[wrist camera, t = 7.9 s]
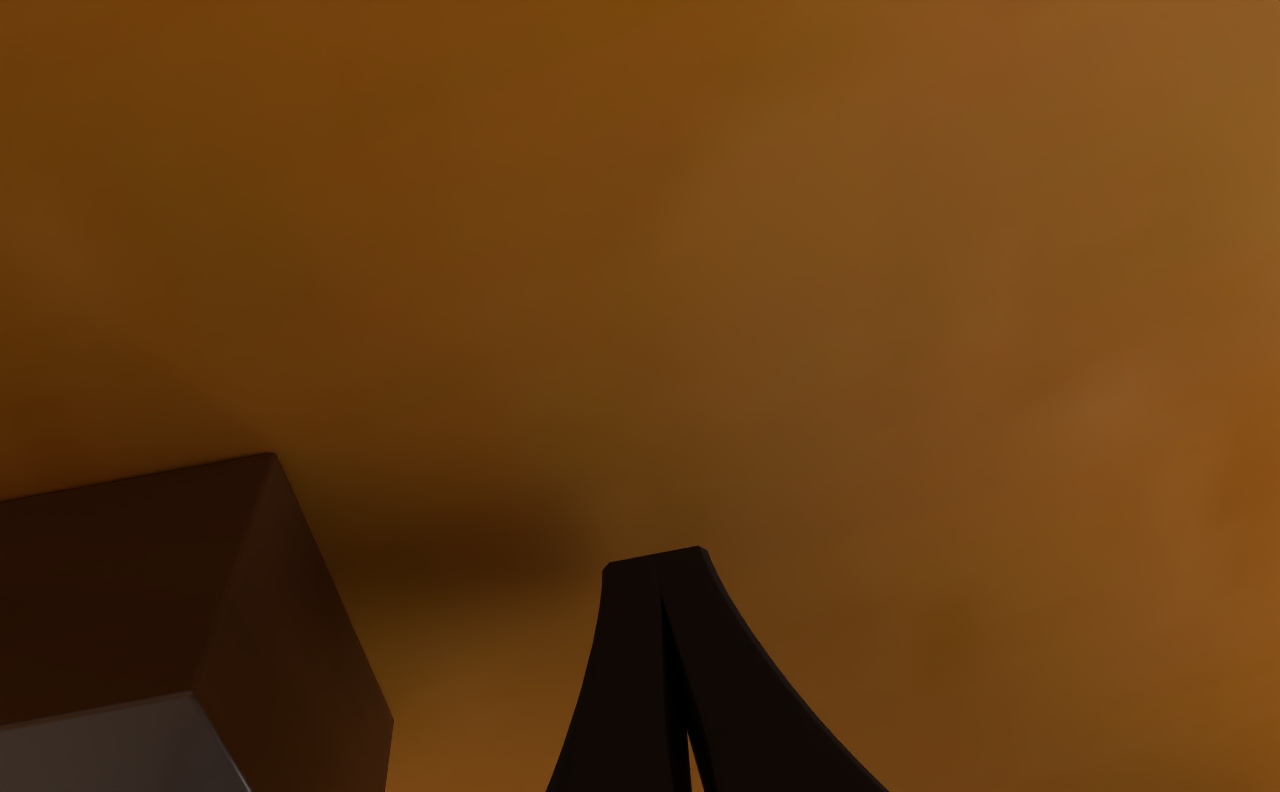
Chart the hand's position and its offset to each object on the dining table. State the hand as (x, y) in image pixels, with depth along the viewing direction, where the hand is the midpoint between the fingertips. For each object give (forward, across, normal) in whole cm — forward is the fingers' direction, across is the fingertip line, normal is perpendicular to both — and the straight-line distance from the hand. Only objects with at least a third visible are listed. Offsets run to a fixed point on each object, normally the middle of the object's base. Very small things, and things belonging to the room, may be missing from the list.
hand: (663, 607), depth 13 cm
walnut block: (+1, +7, 0) cm, 8 cm away
